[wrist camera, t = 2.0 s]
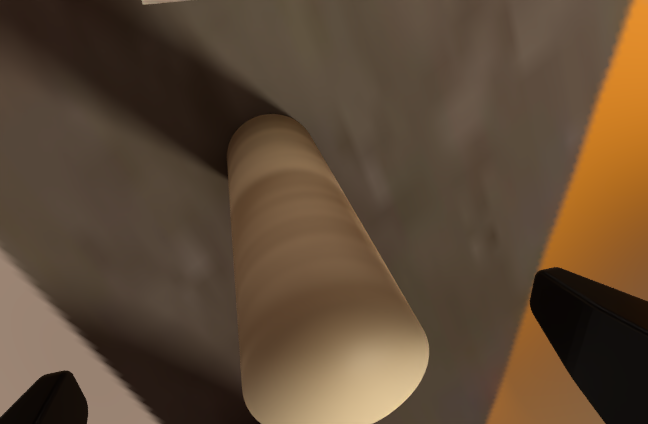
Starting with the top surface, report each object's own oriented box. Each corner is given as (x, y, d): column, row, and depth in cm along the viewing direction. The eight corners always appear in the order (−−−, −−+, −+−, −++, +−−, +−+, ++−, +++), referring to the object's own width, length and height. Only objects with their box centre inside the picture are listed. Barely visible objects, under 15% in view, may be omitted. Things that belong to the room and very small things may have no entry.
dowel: (318, 189, 17) (424, 413, 8) (235, 203, 16) (258, 455, 8) (311, 108, 15) (433, 281, 7) (218, 120, 15) (225, 325, 6)
